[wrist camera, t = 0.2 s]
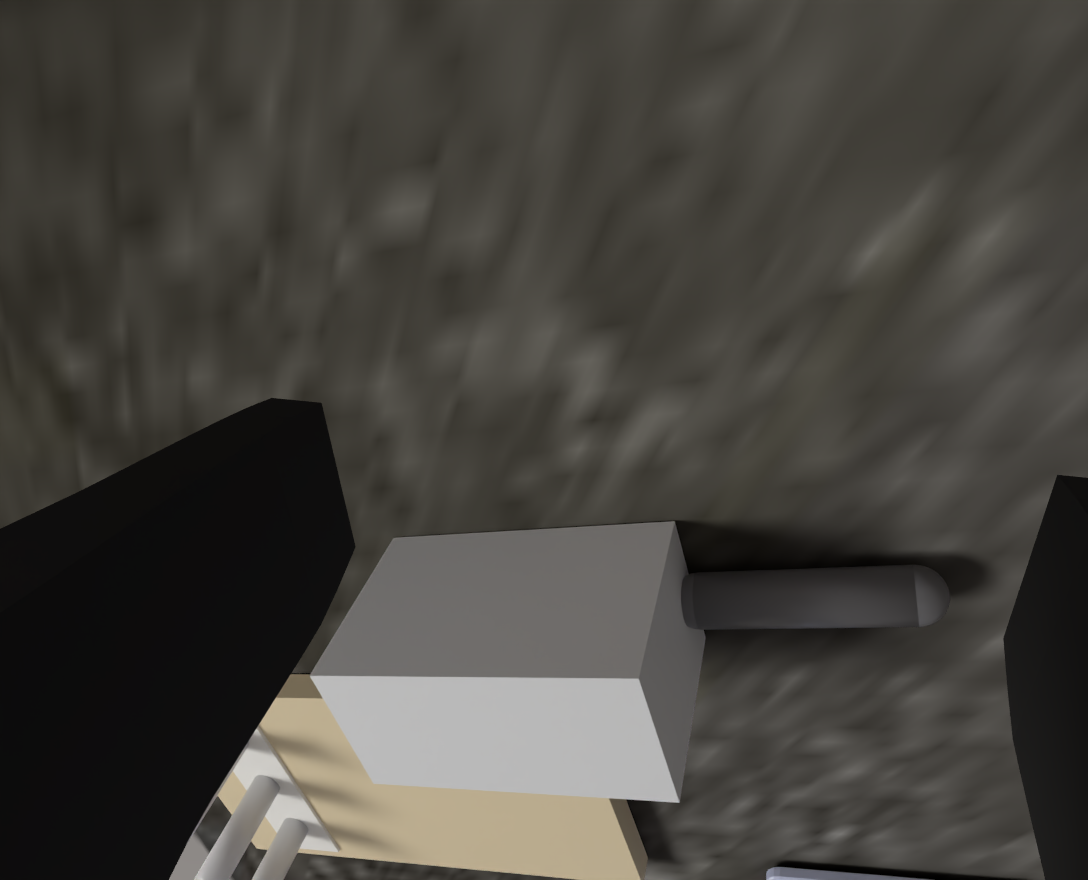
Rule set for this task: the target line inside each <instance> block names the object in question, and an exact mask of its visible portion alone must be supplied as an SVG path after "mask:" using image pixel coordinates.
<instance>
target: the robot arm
mask: <svg viewBox="0 0 1088 880" xmlns="http://www.w3.org/2000/svg"><path fill="white" fill-rule="evenodd" d="M354 549H355V543H354V539H353V535H352V530H351V526H350V522H349V518H348V513H347V509H346V505H345V501H344V496H343V492H342V488H341V484H340V479H339V475H338V471H337V467H336V463H335V458H334V454H333V450H332V446H331V441H330V437H329V433H328V429H327V424H326V420H325V416H324V412H323V407H322V403H317V402H307V401H297V400H287V399H276V398H271V399H268V400H266V401H263V402H260V403H258V404H255V405H253V406H250V407H248V408H246V409H243V410H241V411H239V412H237V413H235V414H233V415H230V416H228V417H226V418H224V419H222V420H220V421H218V422H216V423H214V424H212V425H210V426H208V427H206V428H204V429H202V430H200V431H198V432H196V433H194V434H192V435H190V436H188V437H186V438H184V439H182V440H180V441H178V442H176V443H174V444H172V445H170V446H168V447H166V448H164V449H162V450H160V451H158V452H156V453H154V454H152V455H150V456H148V457H146V458H144V459H142V460H140V461H138V462H137V463H135V464H133V465H131V466H129V467H127V468H125V469H123V470H121V471H119V472H117V473H115V474H113V475H111V476H109V477H107V478H105V479H103V480H101V481H99V482H97V483H95V484H93V485H91V486H89V487H87V488H85V489H83V490H81V491H79V492H77V493H75V494H73V495H71V496H69V497H67V498H65V499H62V500H60V501H58V502H56V503H54V504H52V505H50V506H48V507H46V508H43V509H41V510H39V511H37V512H35V513H33V514H31V515H29V516H27V517H24V518H22V519H20V520H18V521H16V522H14V523H12V524H10V525H8V526H5V527H3V528H1V529H0V880H169V878H170V876H171V874H172V872H173V870H174V868H175V866H176V864H177V862H178V860H179V858H180V856H181V854H182V852H183V850H184V848H185V846H186V844H187V842H188V840H189V838H190V837H191V835H192V833H193V831H194V830H195V828H196V826H197V824H198V823H199V821H200V819H201V818H202V816H203V814H204V812H205V811H206V809H207V807H208V805H209V804H210V802H211V800H212V798H213V797H214V795H215V794H216V792H217V790H218V789H219V787H220V786H221V784H222V783H223V781H224V779H225V778H226V776H227V775H228V773H229V771H230V770H231V768H232V767H233V765H234V763H235V762H236V760H237V759H238V757H239V756H240V754H241V752H242V751H243V749H244V748H245V746H246V744H247V743H248V741H249V740H250V738H251V737H252V735H253V733H254V732H255V730H256V729H257V727H258V725H259V724H260V722H261V721H262V719H263V718H264V716H265V714H266V713H267V711H268V710H269V708H270V706H271V705H272V703H273V702H274V700H275V699H276V697H277V695H278V694H279V692H280V691H281V689H282V687H283V686H284V684H285V683H286V681H287V679H288V678H289V676H290V674H291V673H292V671H293V670H294V668H295V666H296V665H297V663H298V662H299V660H300V658H301V657H302V655H303V653H304V652H305V650H306V649H307V647H308V645H309V644H310V642H311V640H312V639H313V637H314V635H315V634H316V632H317V630H318V629H319V627H320V625H321V623H322V621H323V619H324V617H325V615H326V613H327V611H328V608H329V606H330V604H331V602H332V600H333V598H334V596H335V594H336V591H337V589H338V587H339V584H340V582H341V580H342V577H343V575H344V573H345V570H346V568H347V566H348V563H349V561H350V558H351V556H352V554H353V551H354ZM1003 639H1004V651H1005V663H1006V675H1007V687H1008V697H1009V707H1010V716H1011V725H1012V735H1013V742H1014V746H1015V751H1016V755H1017V760H1018V764H1019V769H1020V773H1021V778H1022V782H1023V786H1024V791H1025V795H1026V799H1027V804H1028V808H1029V812H1030V817H1031V821H1032V825H1033V829H1034V834H1035V838H1036V842H1037V846H1038V850H1039V855H1040V859H1041V863H1042V867H1043V871H1044V876H1045V880H1088V478H1083V477H1073V476H1063V475H1057V478H1056V481H1055V484H1054V487H1053V490H1052V493H1051V496H1050V499H1049V502H1048V505H1047V508H1046V511H1045V514H1044V517H1043V520H1042V523H1041V526H1040V529H1039V532H1038V535H1037V538H1036V541H1035V544H1034V547H1033V550H1032V553H1031V556H1030V559H1029V562H1028V566H1027V569H1026V572H1025V575H1024V578H1023V581H1022V584H1021V587H1020V590H1019V593H1018V596H1017V599H1016V602H1015V605H1014V608H1013V611H1012V614H1011V617H1010V620H1009V623H1008V626H1007V629H1006V632H1005V635H1004V638H1003ZM766 880H933V879H921V878H909V877H897V876H885V875H873V874H861V873H849V872H837V871H825V870H813V869H801V868H789V867H773V868H770V869H769V870H768V871H767V874H766Z"/></svg>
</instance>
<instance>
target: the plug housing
mask: <svg viewBox="0 0 1088 880" xmlns="http://www.w3.org/2000/svg"><path fill="white" fill-rule="evenodd" d="M949 603H950V593H949V588H948V586H947V584H946V582H945V581H944V579H943V578H942V577H941V576H940V575H939V574H938V573H937V572H936V571H934V570H933V569H931V568H928V567H926V566H922V565H891V566H863V567H836V568H808V569H781V570H753V571H725V572H698V573H691V574H689V573H688V569H687V565H686V562H685V558H684V554H683V550H682V547H681V543H680V539H679V535H678V532H677V528H676V524H675V521H670V522H653V523H636V524H619V525H602V526H585V527H568V528H551V529H534V530H517V531H500V532H483V533H466V534H448V535H431V536H414V537H397V538H393V540H392V541H391V543H390V545H389V546H388V548H387V549H386V551H385V553H384V554H383V556H382V558H381V559H380V561H379V563H378V564H377V566H376V568H375V569H374V571H373V572H372V574H371V576H370V577H369V579H368V581H367V582H366V584H365V586H364V587H363V589H362V590H361V592H360V594H359V595H358V597H357V599H356V600H355V602H354V604H353V605H352V607H351V609H350V610H349V612H348V613H347V615H346V617H345V618H344V620H343V622H342V623H341V625H340V627H339V628H338V630H337V631H336V633H335V635H334V636H333V638H332V640H331V641H330V643H329V645H328V646H327V648H326V650H325V651H324V653H323V654H322V656H321V658H320V659H319V661H318V663H317V664H316V666H315V668H314V669H313V671H312V672H311V674H310V677H311V679H312V681H313V682H314V684H315V686H316V688H317V689H318V691H319V693H320V694H321V696H322V698H323V699H324V701H325V703H326V704H327V706H328V708H329V709H330V711H331V713H332V715H333V716H334V718H335V720H336V721H337V723H338V725H339V726H340V728H341V730H342V731H343V733H344V735H345V736H346V738H347V740H348V742H349V743H350V745H351V747H352V748H353V750H354V752H355V753H356V755H357V757H358V758H359V760H360V762H361V763H362V765H363V767H364V769H365V770H366V772H367V774H368V775H369V777H370V779H371V780H372V782H373V784H386V785H402V786H418V787H435V788H451V789H467V790H483V791H499V792H516V793H532V794H548V795H564V796H580V797H597V798H613V799H629V800H645V801H661V802H677V803H679V802H680V796H681V790H682V784H683V777H684V771H685V765H686V758H687V752H688V746H689V740H690V733H691V727H692V721H693V714H694V708H695V702H696V696H697V689H698V683H699V677H700V671H701V664H702V658H703V652H704V645H705V639H706V637H705V633H704V630H717V629H799V628H882V627H925V626H929V625H932V624H934V623H936V622H938V621H939V620H940V619H941V618H942V617H943V616H944V615H945V613H946V612H947V609H948V607H949Z"/></svg>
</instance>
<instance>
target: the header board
mask: <svg viewBox="0 0 1088 880" xmlns="http://www.w3.org/2000/svg"><path fill="white" fill-rule="evenodd" d="M217 795H218V797H219V798H220V799H221V801H222V802H223V803H224V805H225V806H226V807H227V809H228V810H229V811H230V813H231V814H232V817H231V818H230V820H229V822H228V823H227V825H226V827H225V828H224V830H223V832H222V833H221V835H220V837H219V838H218V840H217V842H216V843H215V845H214V847H213V848H212V850H211V852H210V853H209V855H208V857H207V858H206V860H205V862H204V863H203V865H202V867H201V868H200V870H199V872H198V873H197V875H196V877H195V878H194V880H229V879H230V877H231V875H232V873H233V872H234V870H235V868H236V866H237V865H238V863H239V861H240V859H241V857H242V856H243V854H244V852H245V850H246V849H247V847H248V845H249V843H250V842H251V841H252V843H253V844H254V845H255V847H256V848H257V849H266V850H268V851H267V853H266V854H265V856H264V858H263V860H262V862H261V864H260V865H259V867H258V869H257V871H256V873H255V875H254V876H253V878H252V880H284V878H285V876H286V874H287V872H288V870H289V868H290V866H291V864H292V862H293V860H294V858H295V856H296V854H297V852H298V853H308V854H318V855H329V856H339V857H350V858H360V859H370V860H381V861H391V862H402V863H412V864H422V865H433V866H443V867H454V868H464V869H474V870H485V871H495V872H506V873H516V874H526V875H537V876H547V877H557V878H568V879H578V880H644V878H645V872H646V866H647V861H648V856H647V854H646V851H645V848H644V846H643V843H642V840H641V838H640V835H639V832H638V830H637V827H636V824H635V822H634V819H633V817H632V814H631V811H630V809H629V806H628V803H627V801H626V799H613V798H597V797H580V796H564V795H548V794H532V793H516V792H499V791H483V790H467V789H451V788H435V787H418V786H402V785H386V784H373V782H372V780H371V779H370V777H369V775H368V774H367V772H366V770H365V769H364V767H363V765H362V763H361V762H360V760H359V758H358V757H357V755H356V753H355V752H354V750H353V748H352V747H351V745H350V743H349V742H348V740H347V738H346V736H345V735H344V733H343V731H342V730H341V728H340V726H339V725H338V723H337V721H336V720H335V718H334V716H333V715H332V713H331V711H330V709H329V708H328V706H327V704H326V703H325V701H324V699H323V698H322V696H321V694H320V693H319V691H318V689H317V688H316V686H315V684H314V682H313V681H312V679H311V677H310V674H290V676H289V678H288V679H287V681H286V683H285V684H284V686H283V687H282V689H281V691H280V692H279V694H278V695H277V697H276V699H275V700H274V702H273V703H272V705H271V706H270V708H269V710H268V711H267V713H266V714H265V716H264V718H263V719H262V721H261V722H260V724H259V725H258V727H257V729H256V730H255V732H254V733H253V735H252V737H251V738H250V740H249V741H248V743H247V744H246V746H245V748H244V749H243V751H242V752H241V754H240V756H239V757H238V759H237V760H236V762H235V763H234V765H233V767H232V768H231V770H230V771H229V773H228V775H227V776H226V778H225V779H224V781H223V783H222V784H221V786H220V787H219V789H218V790H217V792H216V794H215V795H214V797H213V798H212V800H211V802H210V804H209V805H208V807H207V809H206V811H205V812H204V814H203V816H202V818H201V819H200V821H199V823H198V824H197V826H196V828H195V830H196V829H197V827H198V826H199V824H200V822H201V821H202V819H203V818H204V816H205V814H206V813H207V811H208V810H209V808H210V806H211V805H212V803H213V802H214V800H215V798H216V797H217ZM195 830H194V831H193V833H192V835H193V834H194V832H195ZM192 835H191V837H192ZM191 837H190V838H191ZM190 838H189V840H190ZM189 840H188V842H189ZM188 842H187V843H188ZM186 845H187V844H186Z"/></svg>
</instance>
